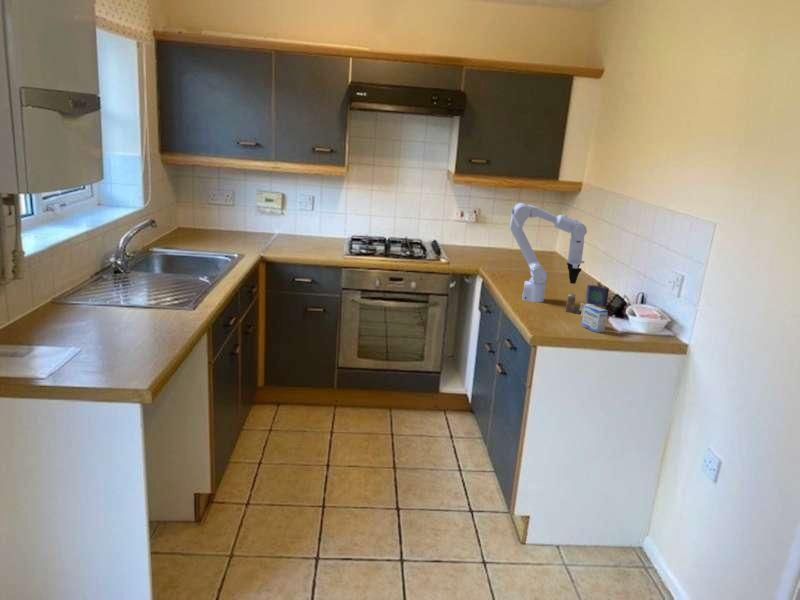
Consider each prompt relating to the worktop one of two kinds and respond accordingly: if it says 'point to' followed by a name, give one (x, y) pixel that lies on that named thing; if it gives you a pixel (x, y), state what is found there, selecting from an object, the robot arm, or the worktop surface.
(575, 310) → the kicker
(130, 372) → the worktop surface
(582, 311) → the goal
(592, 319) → the medicine box
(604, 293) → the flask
